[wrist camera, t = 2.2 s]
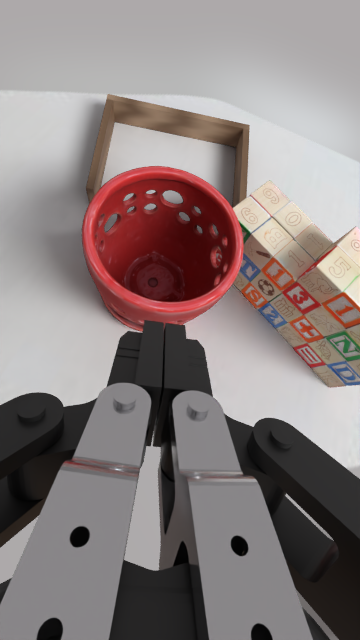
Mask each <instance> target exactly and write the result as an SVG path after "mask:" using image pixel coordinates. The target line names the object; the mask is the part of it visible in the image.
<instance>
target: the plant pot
mask: <svg viewBox="0 0 360 640" xmlns="http://www.w3.org/2000/svg"><path fill="white" fill-rule="evenodd" d="M149 190H155V191H156V192H155V193H153V194H147V193H146V192H147V191H149ZM168 190H172V191H176V192H178V193H179V194H180V195H181V196H182V198H183V203H181V204H173V203H170V202H168V201H166V200H165V199H164V198H163V195H162V194H163V193H164V192H165V191H168ZM130 193H134V195H133V196H132V197H131V198H130V199H128V200H126V201H123V199H124V198H125V196H126V195H128V194H130ZM150 203H152V204H155V205H156V208H155V209H153V210H146V209H144V207H145V206H146V205H147V204H150ZM133 206H134V209H133V210H132V211H131V212H128V213H127V210H128V209H129V208H130V207H133ZM194 206H196V207H198V208H199V209H200V211H201V214H200V213H197V212H196V210H195V208H194ZM180 212H184V213H185V214H187V215H188V216H189V218H190V221H185V220H183V219H182V218H181V217H180V216H179V213H180ZM113 214H117V220H116V222H115V224H114V225H113V226H112V228H111V229H110V230H109V231H107V232H105V231H104V226H105V224H106V222H107V221H108V219H109V218H110V217H111V216H112V215H113ZM213 224H214V225H215V226H216V228H217V231H218V234H219V235H217V234H216V233H215V232H214V230H213ZM197 225H198V226H200V227H201V228H202V233H199V231H198V230H197ZM82 244H83V251H84V255H85V259H86V263H87V266H88V269H89V272H90V274H91V276H92V279H93V280H94V282H95V284H96V286H97V289H98V291H99V292H100V294H101V297H102V299H103V301H104V303H105V305H106V307H107V308H108V310H109V311H110V312H111V313H112V315H113V316H114V317H115V318H116V319H118V320H119V321H120V322H121V323H123V324H124V325H126V326H128V327H130V328H132V329H135V330H138V331H142V332H143V326H144V320H149V321H157V322H164V326H165V323H172V324H179V325H183V324H184V323H186V322H188V321H190V320H192V319H193V318H195V317H197V316H198V315H200V314H202V313H204V312H205V311H207V310H208V309H210V308H211V307H212V306H213V305H214V304H215V303H217V302H218V301H219V300H220V298H221V297H222V296H223V295H224V294H225V293H226V292H227V291H228V289H229V288H230V287H231V285H232V284H233V282H234V281H235V279H236V277H237V275H238V272H239V270H240V267H241V264H242V259H243V251H244V243H243V235H242V230H241V226H240V224H239V221H238V218H237V216H236V214H235V212H234V210H233V208H232V207H231V205H230V204H229V203H228V201H227V200H226V199H225V198H224V197H223V196H222V195H221V194H220V193H219V191H217V190H216V189H215V188H214V187H213V186H211V185H210V184H209V183H207V182H206V181H204V180H203V179H201V178H199V177H197V176H195V175H193V174H191V173H188V172H186V171H183V170H179V169H174V168H170V167H162V166H150V167H142V168H136V169H133V170H129V171H126V172H124V173H121V174H119V175H117V176H115V177H114V178H112V179H111V180H109V181H108V182H107V183H105V184H104V185H103V186H102V187H101V188H100V189H99V191H98V192H97V193H96V194H95V196H94V197H93V199H92V200H91V202H90V204H89V206H88V208H87V210H86V213H85V216H84V220H83V225H82ZM218 247H219V248H220V250H221V253H222V259H221V262H220V265H219V267H218V268H217V265H216V251H217V249H218Z"/></svg>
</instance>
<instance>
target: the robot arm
mask: <svg viewBox="0 0 360 640" xmlns="http://www.w3.org/2000/svg"><path fill="white" fill-rule="evenodd" d="M153 431H154V436H153ZM152 436H153V446H155V447H161V458H160V463H159V468H158V486H159V487H158V489H159V512H160V535H161V546H160V559H159V570H158V571H153V570H149V569H146V568H144V567H141V566H138V565H136V564H133V563H130V562H128V561H125V560H124V556H125V550H126V544H127V538H128V533H129V528H130V522H131V516H132V511H133V505H134V500H135V494H136V488H137V483H138V477H139V472H140V468H141V466H142V464H143V462H144V456H145V450H146V446H151V442H152ZM286 493H287V494H288V495H289V496H290V497H291V498H292V499H293V500H294V501H295V502H296V503H297V504H298V505H299V506H300V507H301V508H303V510H304V511H305V512H307V514H309V515H310V516H311V517H312V518H313V519H314V520H315V521H316V522H317V523H318V524H319V525H320V526H321V527H322V528H323V529H324V530H325V531H326V532H327V533H328V534H329V535H330V536H331V537H332V538H333V540H334V541H333V540H331V539H329V538H328V537H327V536H326V535H324V534H323V533H322V532H321V531H320V530H319V529H318V528H317V527H316V526H315V525H314V524H313V523H312V522H311V521H310V520H309V519H308V518H307V517H306V516H305V515H304V514H303V513H302V512H301V511H300V510H299V509H298V508H297V507H296V506H294V504H293V503H292V502H291V501H290V500H289V499H287V497H286V496H285V495H286ZM37 516H39V517H38V520H37V522H36V524H35V527H34V529H33V531H32V533H31V536H30V538H29V541H28V543H27V545H26V547H25V549H24V552H23V554H22V556H21V559H20V561H19V563H18V565H17V568H16V570H15V572H14V574H13V577H12V578H11V579H9V580H7V581H5V582H3V583H1V584H0V640H330V639H329V638H328V636H327V635H326V634H325V633H324V631H323V630H322V629H321V628H320V626H319V625H318V624H317V623H316V622H315V620H314V619H313V618H312V617H311V616H310V615H309V614H308V613H307V612H306V611H305V610H304V609H303V608H302V607H301V604H300V601H299V598H298V595H297V592H296V590H297V591H298V592H299V593H300V594H301V595H302V597H303V598H304V599H305V600H306V601H307V602H308V604H309V605H310V606H311V607H312V608H313V610H314V611H315V612H316V613H317V614H318V615H319V617H321V619H322V620H323V621H324V622H325V624H326V625H327V626H328V627H329V628H330V629H331V631H332V632H333V633H334V634H335V635H336V636H337V638H338V639H339V640H360V479H359V478H357V477H356V476H355V475H353V474H352V473H351V472H350V471H349V470H347V469H346V468H345V467H344V466H342V465H341V464H340V463H339V462H337V461H336V460H335V459H333V458H332V457H331V456H330V455H328V454H327V453H326V452H325V451H323V450H322V449H321V448H320V447H318V446H317V445H316V444H315V443H313V442H312V441H311V440H309V439H308V438H307V437H306V436H304V435H303V434H302V433H301V432H299V431H298V430H297V429H296V428H294V427H293V426H291V425H290V424H288V423H286V422H284V421H282V420H279V419H275V418H264V419H261V420H259V421H258V422H257V423H256V424H255V426H254V427H252V426H249V425H247V424H244V423H241V422H238V421H236V420H234V419H232V418H230V417H228V416H227V415H225V414H224V412H223V409H222V407H221V405H220V404H219V402H218V401H217V400H216V399H215V398H213V395H212V390H211V384H210V378H209V373H208V368H207V362H206V356H205V351H204V348H203V347H202V346H201V344H200V343H199V342H198V341H197V340H192V339H186V331H185V325H179V324H172V323H165V326H164V322H157V321H149V320H144V326H143V333H138V332H131V331H128V332H127V333H125V334H124V335H123V336H122V337H121V338H120V340H119V344H118V348H117V351H116V355H115V359H114V362H113V366H112V370H111V373H110V377H109V381H108V384H107V387H106V388H105V389H103V390H102V391H101V392H100V394H99V396H98V398H96V399H95V400H93V401H90V402H88V403H85V404H80V405H73V406H66V407H63V404H62V402H61V401H60V400H59V399H58V398H57V397H55V396H53V395H51V394H47V393H29V394H25V395H21V396H19V397H16V398H14V399H12V400H10V401H8V402H6V403H4V404H2V405H0V547H2V546H3V545H4V544H5V543H6V542H7V541H9V540H10V539H11V538H12V537H14V535H16V534H17V533H18V532H19V531H20V530H22V529H23V528H24V527H25V526H27V525H28V524H29V523H30V522H31V521H33V520H34V519H35V518H36V517H37ZM295 588H296V589H295Z"/></svg>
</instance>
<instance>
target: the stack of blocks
mask: <svg viewBox="0 0 360 640" xmlns="http://www.w3.org/2000/svg"><path fill="white" fill-rule="evenodd" d="M233 210H234V212H235V214H236V216H237V218H238V221H239V224H240V226H241V230H242V235H243V243H244V251H243V259H242V264H241V267H240V270H239V272H238V275H237V277H236V279H235V281H234V282H233V284H234V285H235V286H236V287H237V288H238V289H239V290H240V291H241V292H242V294H243V295H244V296H245V297H246V298H247V299H248V300H249V301H250V302H251V304H252V305H253V306H254V307H255V308H256V309H258V310H259V311H260V312H261V314H262V315H263V316H264V317H265V318H266V319H267V320H268V321H269V322H270V323H271V324H272V325H273V327H275V328H276V329H277V331H278V332H279V333H280V334H281V335H282V336H283V337H284V338H285V339H286V340H287V341H288V342H289V344H290V345H291V346H292V347H293V349H294V350H295V351H296V352H297V353H298V354H299V355H300V356H301V357H302V358H303V360H304V361H305V362H306V363H307V364H308V365H309V366H310V367H311V368H312V370H313V371H314V372H315V373H316V374H317V375H318V376H319V377H320V378H321V379H322V381H323V382H324V383H325V384H326V385H327V386H328V387H341V386H347V385H348V386H349V385H360V229H359V228H358V227H356V226H355V227H354V228H353V229H352V230H350V231H349V232H348V233H347V234H345V235H344V236H343V237H341V238H340V239H339V240H337V241H336V242H335V243H333V242H332V241H331V240H330V239H329V238H328V237H327V236H326V235H325V234H324V233H323V232H322V231H321V230H320V229H319V228H318V227H317V226H316V225H315V224H313V222H312V221H311V220H310V219H309V218H308V217H307V216H306V215H305V214H304V213H303V212H302V211H301V210H300V209H299V208H298V207H297V206H296V205H295V203H294V202H292V201H290V200H289V198H288V197H287V196H286V195H285V194H284V193H283V192H281V190H280V189H279V188H278V187H277V186H275V184H274V183H273V182H272V181H270V180H269V181H268V182H266V183H265V184H264V185H262V186H261V187H260V188H258V189H257V190H256V191H254V192H253V193H251V195H250V196H248V197H247V198H246V199H244V200H243V201H241V202H240V203H239V204H238V205H236V206H235V207H234V208H233ZM218 235H219V234H218ZM221 259H222V253H221V250H220V248H219V247H218V249H217V251H216V265H217V266H218V267H219V265H220V262H221Z"/></svg>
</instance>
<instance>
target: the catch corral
mask: <svg viewBox="0 0 360 640" xmlns="http://www.w3.org/2000/svg"><path fill="white" fill-rule="evenodd" d="M114 122H118V123H123V124H128V125H133V126H137V127H142V128H147V129H152V130H156V131H161V132H166V133H171V134H175V135H180V136H185V137H190V138H194V139H199V140H204V141H209V142H213V143H218V144H223V145H228V146H232V147H236V157H235V174H234V190H233V207H232V208H234V207H235V206H236V205H238V204H239V203H240V202H241V201H243V200H244V199H246V192H247V170H248V148H249V125H246V124H242V123H237V122H233V121H228V120H224V119H219V118H215V117H210V116H205V115H201V114H196V113H192V112H187V111H183V110H178V109H174V108H169V107H165V106H160V105H155V104H151V103H146V102H142V101H137V100H133V99H128V98H124V97H119V96H115V95H110V94H108V95H107V100H106V104H105V108H104V113H103V117H102V121H101V125H100V130H99V134H98V138H97V143H96V147H95V151H94V156H93V160H92V164H91V168H90V173H89V177H88V181H87V186H86V190H87V195H88V199H89V204H90V202H91V200H92V199H93V197H94V196H95V194H96V193H97V192H98V191H99V189H100V187H101V183H102V178H103V173H104V169H105V164H106V160H107V155H108V150H109V146H110V141H111V136H112V132H113V127H114Z"/></svg>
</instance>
